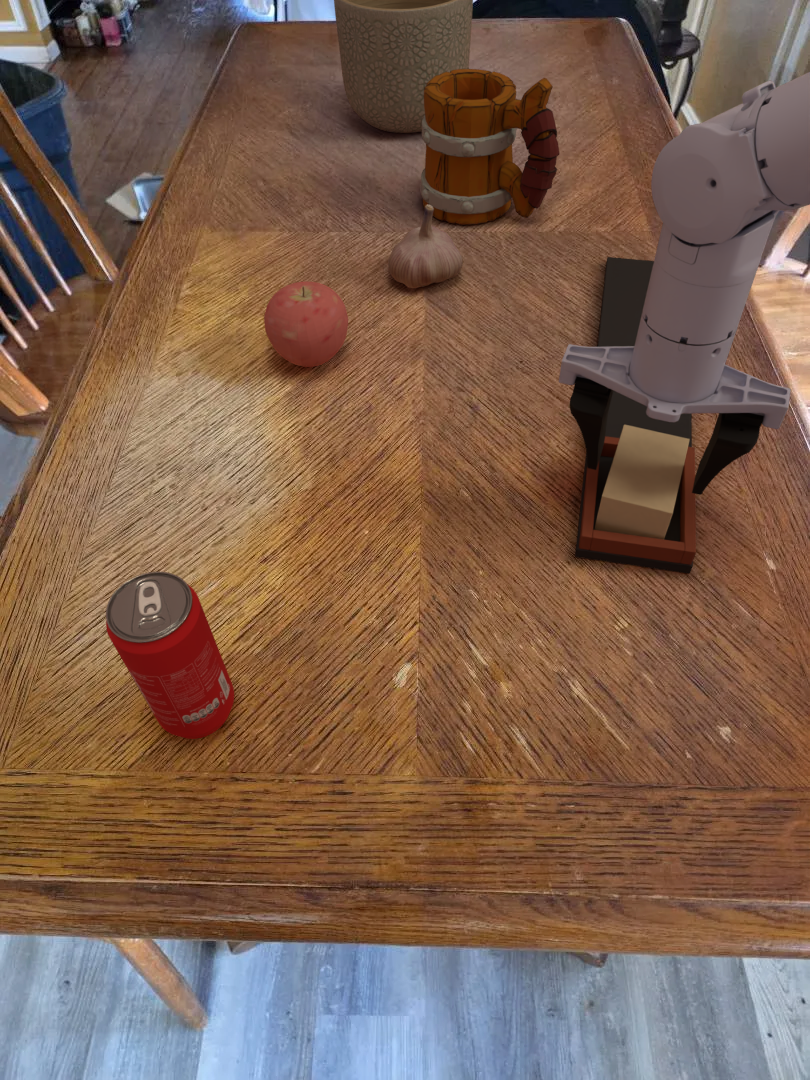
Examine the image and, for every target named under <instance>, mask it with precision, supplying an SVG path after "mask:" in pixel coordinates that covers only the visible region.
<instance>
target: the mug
mask: <svg viewBox="0 0 810 1080" xmlns="http://www.w3.org/2000/svg"><path fill="white" fill-rule="evenodd" d="M552 91H553V84H552V83H551V82H550V81H549V79H548V78H546V77H543V78H541V79H540V80H538V81H536V83H534V84H533V85H531V86H530V87H529V88H528V89H527V90H526V91H525V92H524V93H523V95H522V97H521V99H517V85H516V84H515V83H514V81H513V80H512V79H511V77H508V76H507V75H505V74H503V73H500V72H497V71H490V70H487V69H486V70H485V69H477V68H469V69H457V70H452V71H450V72H444V73H442V74H440V75H436V76H435V77H433V78H432V79H431V80H430V81H429V82H428V83H427V85H426V87H424V110H425V115H424V117H423V120H422V131H421V137H422V140H423V143H424V144H425V159H424V168H423V170H422V171H421V173H420V189H419V190H420V195H421V197H422V206H423V209H424V210H425V206H426V205H427V204H430V205H431V206H433V208H434V211H433V216H432V217H434V218H435V219H436V220H439V221H441V222H444V221H446V222H447V223H449V224H457V225H458V224H459V225H460V226H466V225H477V224H486V223H488V222H494V221H495V220H496V219H499V218H501V217H502V216H503V215H505V214H506V213H507V212H508V211H509V210H510V208H511V206H512V202H513V206H514V210H515V213H516V214H517V215H518V216H519V217H520V218H524V219H528V218H529V217H531V216H532V214H533V212H534V210H535V209H540V207H541V206H542V203H543V201H544V199H545V197H546V196H547V192H548V190H550V189H552V187H553V180H554V178H555V176H556V174H557V171H558V168H557V167H556V165H557V160H558V159H557V158H558V157H559V156H560V146H559V141H558V139H557V137H558V130H557V125H556V120H555V116H554V113H553V111H552V110H551V109H550V108H549V107H547V105H548V103H549V100H550V97H551V94H552ZM518 129H519V130H521V131H520V135H521V138H522V139H523V141H524V144H525V149H526V150H528V151H527V152H528V156H527V160H526V161H525V162H524V167H523V170H521V168H520V167H519V165H518V164H516V163H514V158H513V143H514V142H515V141H516V139H517V130H518Z"/></svg>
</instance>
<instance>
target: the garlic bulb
mask: <svg viewBox="0 0 810 1080" xmlns="http://www.w3.org/2000/svg"><path fill="white" fill-rule="evenodd" d="M433 211H434V208H433V206H431V205H430V204H427V205H426V206H425V209H424V211H423V217H422V222H421V225H420V226H418V227H414V228H412V229H410V230H409V231H408V232H407V233H406V234H405V235H404V237H402V239H401V240H400V241H399V242H397V244H395V245H394V247H393V248H392V250H391V253H390V255H389V257H388V261H387V267H388V271H389V273H390V275H391V277H392V278H393V279H394V280H395V282H398V283H400V284H403V285H405V286H406V287H407V288H410V289H417V288H420V287H421V288H424V287H427V286H429V285H432V284H434V283H437V284H438V283H442V282H444V281H446V280H448V279H453V278H455V277H457V276H458V274H459V273H460V272H461V270H462V269H463V265H464V263H463V261H464V260H463V255H462V252H461V251H460V250H459V249H458V247H457V245H456V244H455V242H454V240H453V238H452V237H451V236H450V235H449V233H448V232H446V231H445V230H443V229H441V228H438V227H437V226H434V225H433V217H434V216H433Z"/></svg>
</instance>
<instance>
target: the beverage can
mask: <svg viewBox="0 0 810 1080" xmlns="http://www.w3.org/2000/svg"><path fill="white" fill-rule="evenodd" d="M105 628H106V633H107V635H108V638H109V640H110V641H111V643H112V645H113V647H114V648H115V650H116V652H117V653H118V656H119V657H120V659H121V660H122V662H123V663H124V666H125V667H126V669H127V671H128V672H129V674H130V676H131V677H132V680H133V681H134V683H135V685H136V687H137V689H138V690H139V692H140V693H141V695H142V697H143V698H144V700H145V702H146V704H147V706H148V707H149V709H150V711H151V712H152V713H151V714H153V716H154V718H155V720H156V721H157V722H158V725H159V726H160V727H161V728H162V729H163V730H164V731H166V732H167V733H169V734H171V735H172V736H176V737H179V738H182V739H185V740H199V739H200V740H201V739H204V738H207V737H209V736H211V735H213V734H215V733H216V732H217V731H219V730H220V729H221V728H222V727H223V726H224V725H225V724H226V722H227V721H228V719H229V717H230V714H231V711H232V709H233V705H234V702H235V689H234V685H233V682H232V680H231V677H230V675H229V672H228V670H227V667H226V664H225V662H224V659H223V657H222V655H221V652H220V649H219V646H218V644H217V641H216V639H215V637H214V634H213V632H212V629H211V626H210V624H209V621H208V619H207V616H206V614H205V611H204V608H203V606H202V603H201V601H200V597H199V596H198V594H197V592H196V591H195V589H194V588H193V587H192V586H191V585H190V584H189V583H187V582H186V581H185V579H183V578H182V577H181V576H179V575H177V574H174V573H172V572H167V571H149V572H145V573H144V572H143V573H141V574H138V575H136V576H133V577H131V578H130V579H128V580H126V581H125V582H124V583H122V584H121V585H119V587H118V588H116V590H114V591H113V593H112V594H111V596H110V597H109V600H108V602H107V604H106V609H105Z"/></svg>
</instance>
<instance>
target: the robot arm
mask: <svg viewBox="0 0 810 1080" xmlns="http://www.w3.org/2000/svg"><path fill="white" fill-rule="evenodd" d="M741 101H742V103H740V104H737V105H736V106H734V107H731V108H729V109H728V110H725V111H723V112H721V113H719V114H717V115H715V116H713V117H711V118H709V119H707V120H705V121H702V122H699V123H694V124H690V125H687V126H686V127H684V128H683V130H682V131H681V132H680V133H679V134H678V135H676V136H675V137H674V138H672V139H671V140H669V141H668V142H667V143H666V144H665V145H664V146H663V148H662V149H661V150H660V152H659V154H658V155H657V157H656V160H655V162H654V165H653V169H652V172H651V181H650V182H651V184H650V185H651V188H650V189H651V196H652V201H653V205H654V208H655V211H656V213H657V215H658V217H659V218H660V221H661V222H662V224H661V229H660V234H659V237H658V242H657V246H656V251H655V255H654V260H653V261H654V264H653V268H652V272H651V277H650V281H649V285H648V290H647V294H646V298H645V303H644V307H643V312H642V316H641V320H640V325H639V329H638V333H637V338H636V342H635V346H620V347H597V346H586V345H577V344H571V343H569V344H567V347H566V349H565V351H564V354H563V356H562V358H561V363H560V364H561V365H560V370H559V375H558V377H559V378H558V383H559V384H563V385H567V386H573V389H572V394H571V395H570V398H569V411H570V414H571V415H572V417H573V418H574V420H575V421H576V424H577V426H578V428H579V430H580V432H581V435H582V438H583V439H582V440H583V442H584V446H585V453H586V452H587V467H588V468H589V469H594V470H596V469H597V466H598V463H599V459H600V456H601V453H602V449H603V445H604V441H605V434H606V426H607V417H608V412H609V407H610V403H611V399H612V395H613V391H616V392H618V393H620V394H622V395H624V396H626V397H628V398H631V399H633V400H635V401H637V402H639V403H641V404H643V405H645V406H647V410H646V414H647V415H648V416H649V417H651V418H654V419H658V420H663V421H667V422H676V421H678V420H679V418H680V415H681V414H691V415H692V414H695V415H696V414H718V415H717V419H716V421H715V424H714V428H713V431H712V433H711V436H710V439H709V441H708V443H707V446H706V448H705V449H704V452H703V454H702V456H701V458H700V460H699V463H698V466H697V469H696V471H695V480H694V485H693V490H692V493H694V494H695V495H698V496H701V495H703V493H704V492H705V490H706V488H707V487H708V486H709V485H710V483H711V482H712V481H713V480H714V479H715V478H716V476H718V475H719V474H720V473H721V471H723V469H725V468H726V467H727V466H729V465H730V464H732V463H733V462H735V461H736V460H738V459H739V458H741V457H743V456H745V455H746V454H749V453H750V452H751V451H752V450H753V448H755V446H756V444H757V442H758V440H759V437H760V432H761V427H762V426H763V427H765V428H769V429H773V430H780V428H781V425H782V423H783V421H784V419H785V416H786V414H787V412H788V409H789V407H790V398H791V391H792V390H791V388H790V387H785V386H782V385H777V384H775V383H771V382H768V381H765V380H763V379H760V378H758V377H755V376H753V375H751V374H749V373H747V372H744V371H741V370H739V369H737V368H735V367H732V366H730V365H728V364H726V363H727V360H728V357H729V355H730V351H731V349H732V345H733V342H734V340H735V337H736V333H737V330H738V328H739V324H740V321H741V319H742V315H743V312H744V309H745V308H746V307H745V306H746V304H747V301H748V298H749V295H750V292H751V290H752V286H753V284H754V280H755V277H756V274H757V272H758V269H759V267H760V264H761V260H762V257H763V253H764V250H765V248H766V244H767V242H768V239H769V236H770V234H771V231H772V228H773V225H774V222H775V220H776V217H777V215H778V214H779V213H780V211H782V212H784V211H793V210H798V209H802V208H803V207H807V206H810V71H808V72H806V73H804V74H801V75H800V76H798V77H796V78H794V79H791V80H790V81H787V82H785V83H783V84H781V85H779V86H777V87H776V84H775V82H774V81H773V80H771V79H770V80H767V81H765V82H763V83H760V84H758V85H757V86H754V87H752V88H750V89H748V90H746V91H744V92H743V94H742V96H741Z"/></svg>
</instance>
